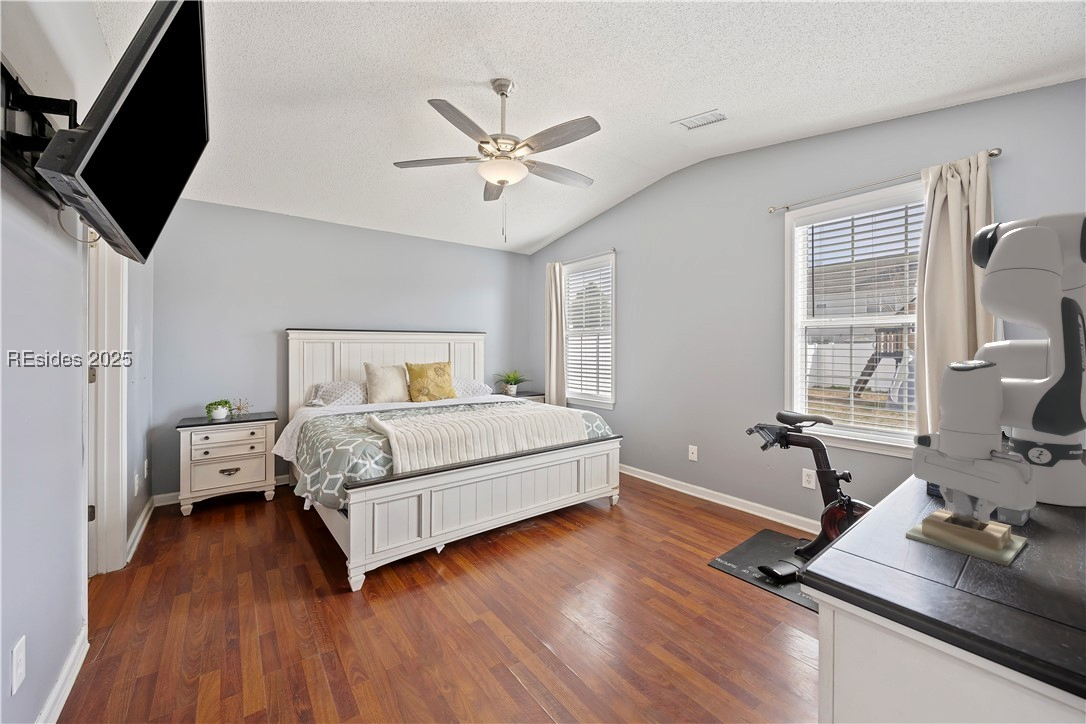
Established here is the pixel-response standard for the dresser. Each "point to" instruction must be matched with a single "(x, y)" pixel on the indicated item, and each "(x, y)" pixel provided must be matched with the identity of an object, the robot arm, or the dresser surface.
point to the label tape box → (1012, 515)
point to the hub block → (969, 538)
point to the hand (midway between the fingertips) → (966, 515)
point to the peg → (965, 510)
